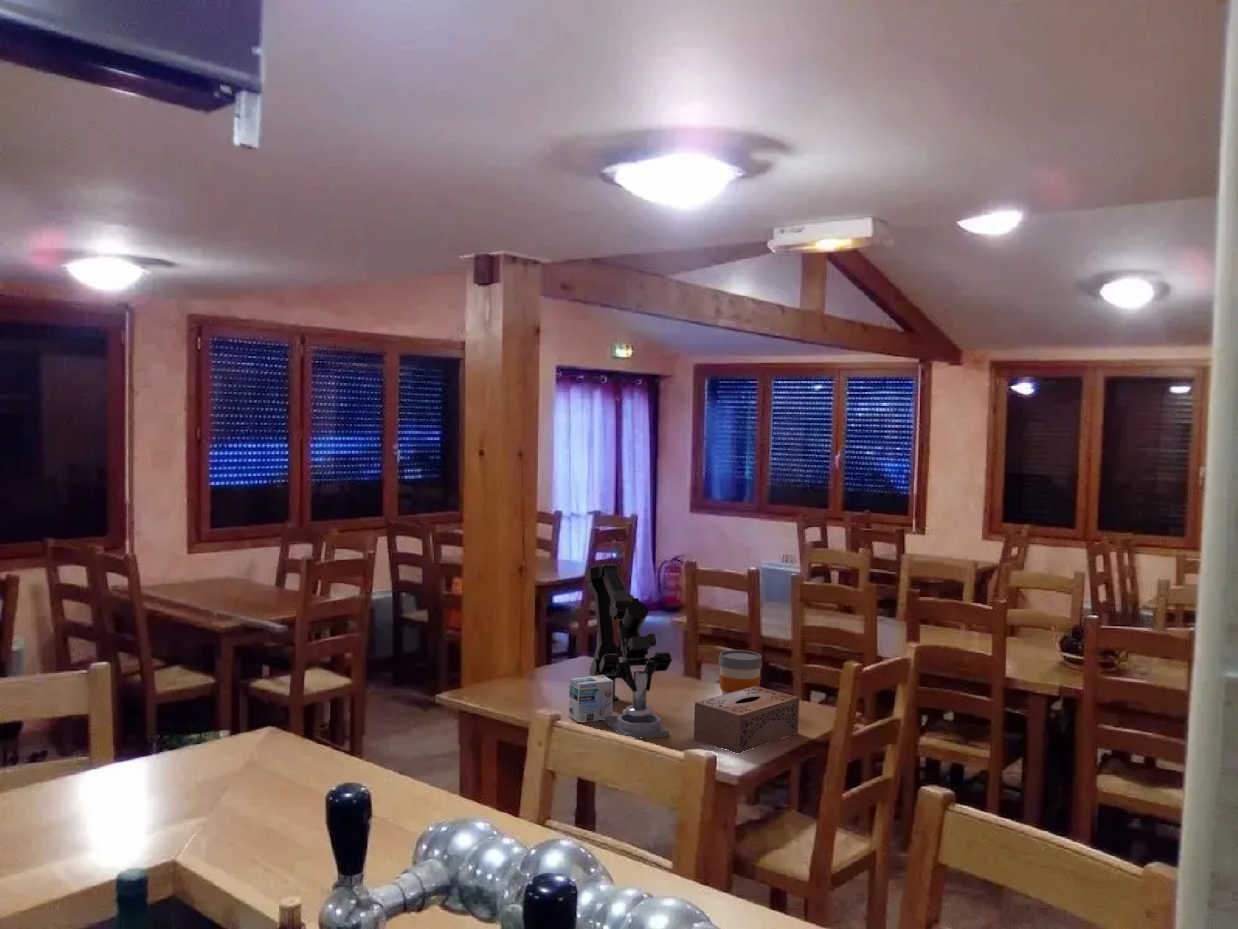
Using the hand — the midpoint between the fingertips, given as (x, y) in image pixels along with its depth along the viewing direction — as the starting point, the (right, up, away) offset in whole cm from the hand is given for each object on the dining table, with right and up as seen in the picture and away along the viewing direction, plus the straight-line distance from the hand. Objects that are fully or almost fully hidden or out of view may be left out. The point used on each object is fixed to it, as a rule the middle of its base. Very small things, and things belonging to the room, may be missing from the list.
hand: (641, 690), depth 263 cm
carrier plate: (-1, -11, +4) cm, 12 cm away
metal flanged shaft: (-1, -7, +2) cm, 7 cm away
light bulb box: (-14, -10, +12) cm, 21 cm away
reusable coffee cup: (+29, -11, +29) cm, 42 cm away
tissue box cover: (+27, -13, 0) cm, 30 cm away
